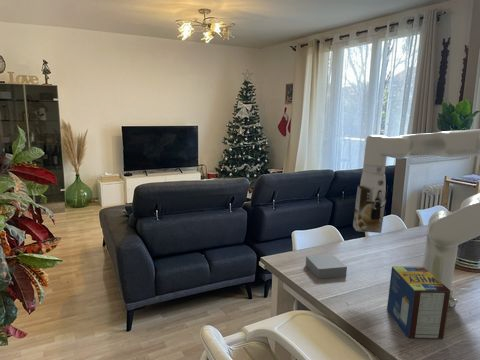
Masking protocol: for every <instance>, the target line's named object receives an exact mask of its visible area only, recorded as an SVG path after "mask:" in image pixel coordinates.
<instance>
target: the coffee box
mask: <svg viewBox="0 0 480 360" xmlns="http://www.w3.org/2000/svg"><path fill="white" fill-rule="evenodd" d="M387 193H388V191H387V190H386V191H385V200H386V201H387ZM375 200H379V197H378V196H377V198H376V199H375ZM377 204H378V203H376V205H377ZM385 206H386V203H385V204H384V206H383V207H382V209H381V211H380V218H379V219H378V220H372V219H371V212H372V209H373V204H372V202H371V201H370V190H369V189H366V188H364V187H362V186H360V185H357V190H356V198H355V206H354V216H353V220H352V221H353V222H352V226H353V229H354V230H355V231H356V232H361V233H362V232H363V233H366V232H367V233H377V234H381V233H382V228H383V222H384V217H385V208H386V207H385Z"/></svg>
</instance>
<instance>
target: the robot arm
mask: <svg viewBox="0 0 480 360" xmlns="http://www.w3.org/2000/svg"><path fill="white" fill-rule="evenodd" d="M418 155H419V156H420V155H423V156H424V155H426V156H429V155H430V156H435V157H436V156H437V157H441V158H457V157H458V158H459V157H460V158H461V157H463V158H465V157H480V128H476V129H465V130H464V129H463V130H462V129H460V130H447V131H446V130H445V131H438V132H432V133H431V132H430V133H415V134H413V133H412V134H404V135H403V134H402V135H398V136H390V137H389V136H387V135H382V134H370V135H368V136H366V139H365V148H364V156H363V165H362V173H361V176H360V177H361V178H360V183H359V186H362V187H364V188H366V189H369V190H370V201H371V202H372V204H373V209H372V212H371V219H372V220H378V219H379V218H380V211H381V209H382V207H383V206H384V204H385V205H386V203H387V199H386V200H385V191H387V190H386V188H387V186H386V185H387V184H386V183H387V182H386V180H387V179H386V174H385V173H386V165H387V159H388V158H392V159H398V160H399V159H400V160H401V159H405V158H406V157H407V156H418ZM377 196H378V197H379V200H375V199H376V198H377ZM376 203H378V204H377V205H376ZM477 237H480V192H478V193H476V194H474V195H471V196H469V197H467V198H466V199H463V201H462V202H461V204H460V207H459V209H457V210H455V211H453V212H452V211H450V210H446V209H442V210H438V211H436V212H434V213H432V214H431V216H430V217H429V219H428V222H427V230H426V241H425V246H424V252H423V260H422V266H421V267H424V268H425V269H426V270H427V271H428V272H430V273H431V274H432V275H433V276H434V277H435V278H437V279H438V280H439V281H440V282H441V283H442V284H443V285H445V286H446V287H447V288H448V289H449V290H450V298H449V304H448V307H451V308H453V307H455V305H456V304H457V303H458V301H459V300H458V299H457V298H456V297H454V295H453V294H454V291H453V290H452V284H453V280H454V272H455V266H456V260H457V255H458V249H459V247H458V246H459V245H462V244H464V243H466V242H468V241H470V240H473V239H475V238H477Z"/></svg>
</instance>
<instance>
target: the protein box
mask: <svg viewBox="0 0 480 360" xmlns="http://www.w3.org/2000/svg"><path fill="white" fill-rule="evenodd" d="M389 281H390V282H389V287H388V288H389V290H388V296H387V297H388V299H387V305H386V309H387V311H388V312H389V314H390V316H392V318H393V319H394V321H395V322H396V324H397V325H398V326H399V327H400V329H401V331H402V332H403V333H404V334H405V336H406V337H407V338H408V339H423V340H425V339H426V340H427V339H428V340H430V339H432V340H434V339H435V340H436V339H437V340H441V339H442V340H444V338H445V337H444V335H445V329H446V322H447V315H448V312H449V311H448V310H449V306H448V304H449V298H450V290H449V289H448V288H447V287H446V286H445V285H443V284H442V283H441V282H440V281H439V280H438V279H437V278H435V277H434V276H433V275H432V274H431V273H430V272H428V271H427V270H426V269H425V268H424V267H422V266H404V265H403V266H398V265H392V266H391V273H390V280H389Z"/></svg>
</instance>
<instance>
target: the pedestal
mask: <svg viewBox="0 0 480 360" xmlns="http://www.w3.org/2000/svg"><path fill="white" fill-rule="evenodd" d="M305 266H306V267H307V268H308V269H309V271H310V272H311V273H312V274H313V275H314V276H315V278H316V279H329V278H344V277H347V270H348V267H347V266H346V264H344V263H343V262H342V261H341V260H340V259H339V258H337V257H336V256H335V255H334V254H332V253H331V254H322V255H321V254H319V255H307V256H306V257H305Z"/></svg>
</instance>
